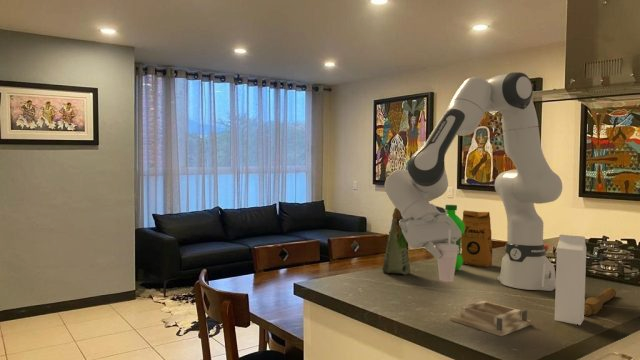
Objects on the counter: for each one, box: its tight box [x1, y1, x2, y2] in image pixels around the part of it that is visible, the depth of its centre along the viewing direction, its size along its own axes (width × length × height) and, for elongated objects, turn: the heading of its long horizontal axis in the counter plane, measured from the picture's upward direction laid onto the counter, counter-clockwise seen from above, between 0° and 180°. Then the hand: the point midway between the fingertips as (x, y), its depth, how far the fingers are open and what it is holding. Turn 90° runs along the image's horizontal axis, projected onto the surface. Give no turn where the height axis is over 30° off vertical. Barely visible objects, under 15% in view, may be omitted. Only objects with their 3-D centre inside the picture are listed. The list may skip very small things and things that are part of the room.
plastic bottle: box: [436, 204, 465, 272], centre depth 180 cm, size 10×10×25 cm
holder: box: [449, 300, 532, 337], centre depth 118 cm, size 14×14×4 cm
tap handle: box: [584, 287, 617, 317], centre depth 136 cm, size 3×3×30 cm
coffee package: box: [461, 210, 493, 268], centre depth 191 cm, size 10×12×22 cm
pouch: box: [381, 207, 411, 276], centre depth 173 cm, size 11×12×25 cm
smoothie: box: [434, 229, 459, 283], centre depth 129 cm, size 6×6×14 cm
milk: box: [554, 234, 587, 326], centre depth 121 cm, size 6×6×22 cm
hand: (448, 255), depth 128 cm, fingers closed on smoothie, 6 cm apart
